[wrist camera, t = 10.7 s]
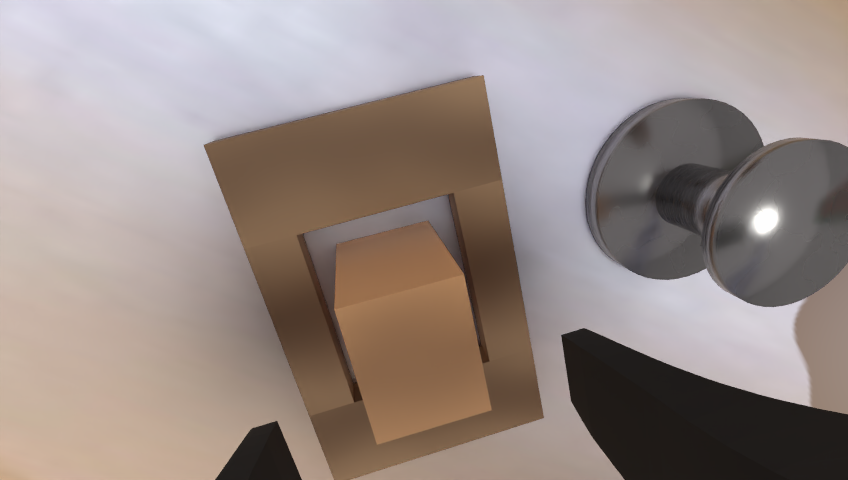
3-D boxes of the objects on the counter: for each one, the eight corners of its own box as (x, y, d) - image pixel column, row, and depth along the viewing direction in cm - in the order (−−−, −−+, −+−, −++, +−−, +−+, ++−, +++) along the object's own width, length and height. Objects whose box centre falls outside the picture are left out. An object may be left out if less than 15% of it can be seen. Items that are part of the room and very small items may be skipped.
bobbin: (745, 245, 20) (888, 300, 15) (595, 289, 19) (688, 363, 14) (746, 79, 18) (917, 73, 12) (576, 123, 17) (679, 137, 12)
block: (450, 323, 19) (491, 410, 14) (367, 346, 19) (377, 444, 13) (427, 220, 17) (464, 274, 12) (336, 244, 17) (334, 309, 12)
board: (532, 399, 21) (543, 417, 20) (336, 461, 20) (335, 484, 19) (473, 76, 16) (483, 75, 15) (213, 141, 15) (203, 144, 14)
